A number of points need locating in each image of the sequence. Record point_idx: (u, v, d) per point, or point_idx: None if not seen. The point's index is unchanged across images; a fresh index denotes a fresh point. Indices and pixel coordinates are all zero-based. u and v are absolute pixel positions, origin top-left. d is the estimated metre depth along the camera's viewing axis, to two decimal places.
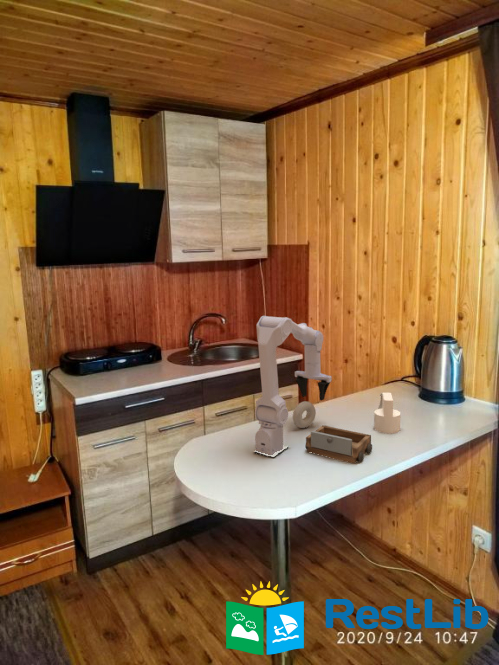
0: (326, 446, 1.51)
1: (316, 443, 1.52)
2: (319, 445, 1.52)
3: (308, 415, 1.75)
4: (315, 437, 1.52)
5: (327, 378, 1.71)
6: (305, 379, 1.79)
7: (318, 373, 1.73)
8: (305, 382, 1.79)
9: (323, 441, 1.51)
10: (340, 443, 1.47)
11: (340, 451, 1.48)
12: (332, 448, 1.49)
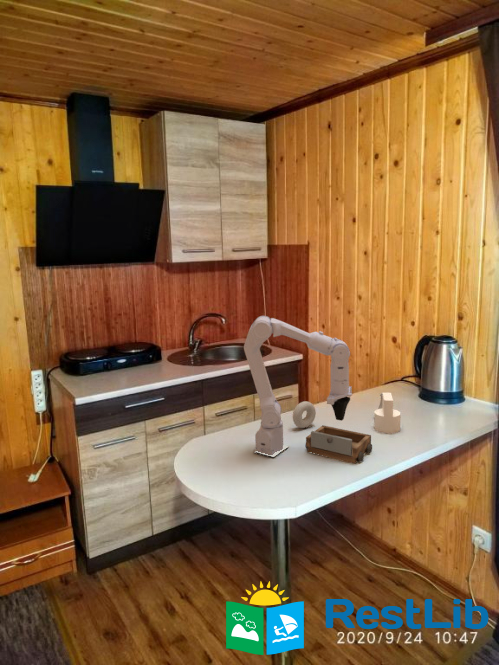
0: (326, 446, 1.51)
1: (316, 443, 1.52)
2: (319, 445, 1.52)
3: (308, 415, 1.75)
4: (315, 437, 1.52)
5: None
6: None
7: (334, 392, 1.50)
8: None
9: (323, 441, 1.51)
10: (340, 443, 1.47)
11: (340, 451, 1.48)
12: (332, 448, 1.49)
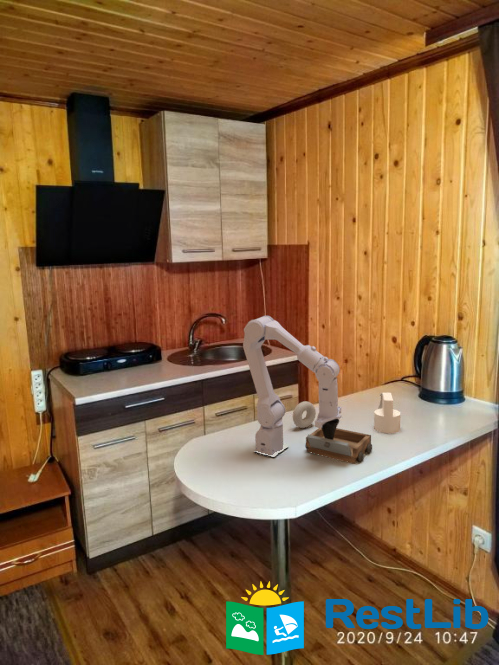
0: (325, 447, 1.50)
1: (315, 445, 1.52)
2: (318, 446, 1.51)
3: (308, 415, 1.75)
4: (312, 440, 1.51)
5: None
6: None
7: (322, 414, 1.45)
8: None
9: (321, 444, 1.50)
10: (338, 447, 1.46)
11: (339, 452, 1.48)
12: (331, 449, 1.49)
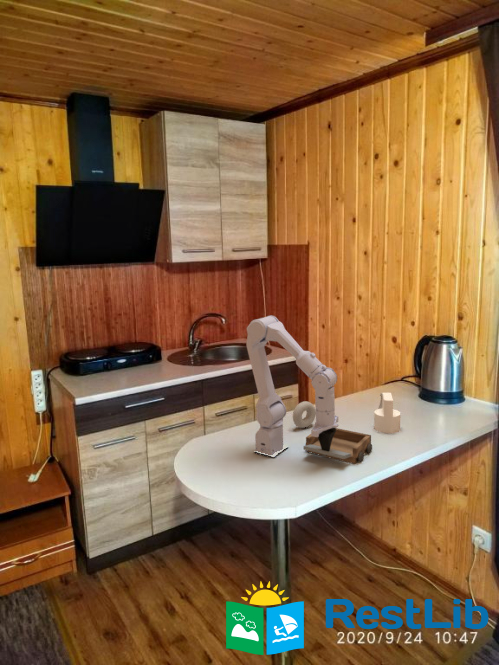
0: None
1: None
2: None
3: (308, 415, 1.75)
4: None
5: None
6: None
7: (319, 423, 1.43)
8: None
9: None
10: None
11: None
12: None
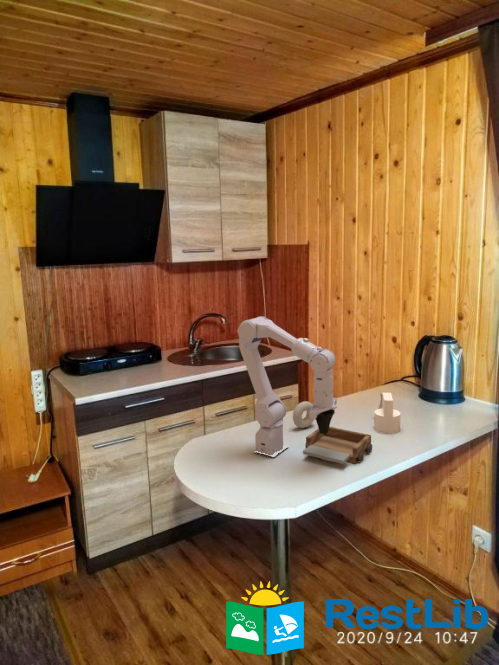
0: None
1: None
2: None
3: (308, 415, 1.75)
4: None
5: None
6: None
7: (317, 404, 1.43)
8: None
9: None
10: None
11: None
12: None
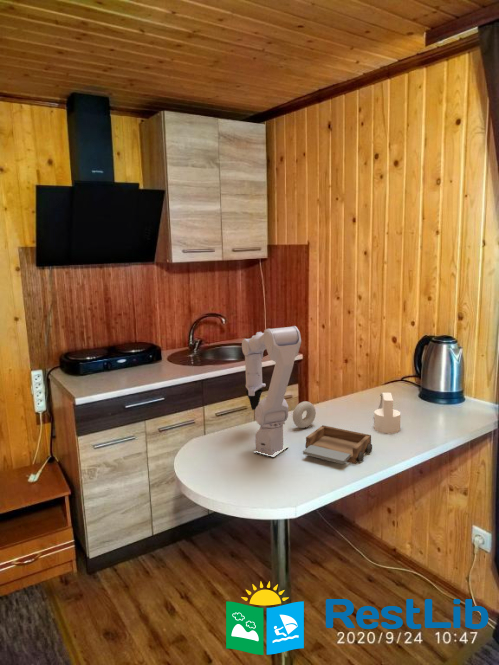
0: None
1: None
2: None
3: (308, 415, 1.75)
4: None
5: None
6: None
7: (251, 384, 1.65)
8: None
9: None
10: None
11: None
12: None
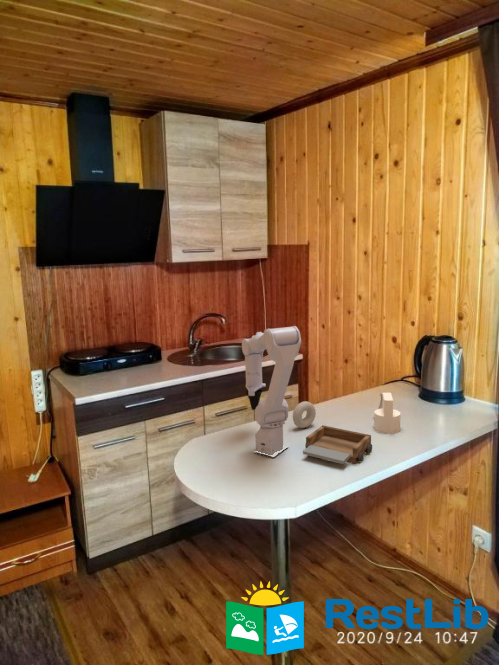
0: None
1: None
2: None
3: (308, 415, 1.75)
4: None
5: None
6: None
7: (251, 384, 1.65)
8: None
9: None
10: None
11: None
12: None
